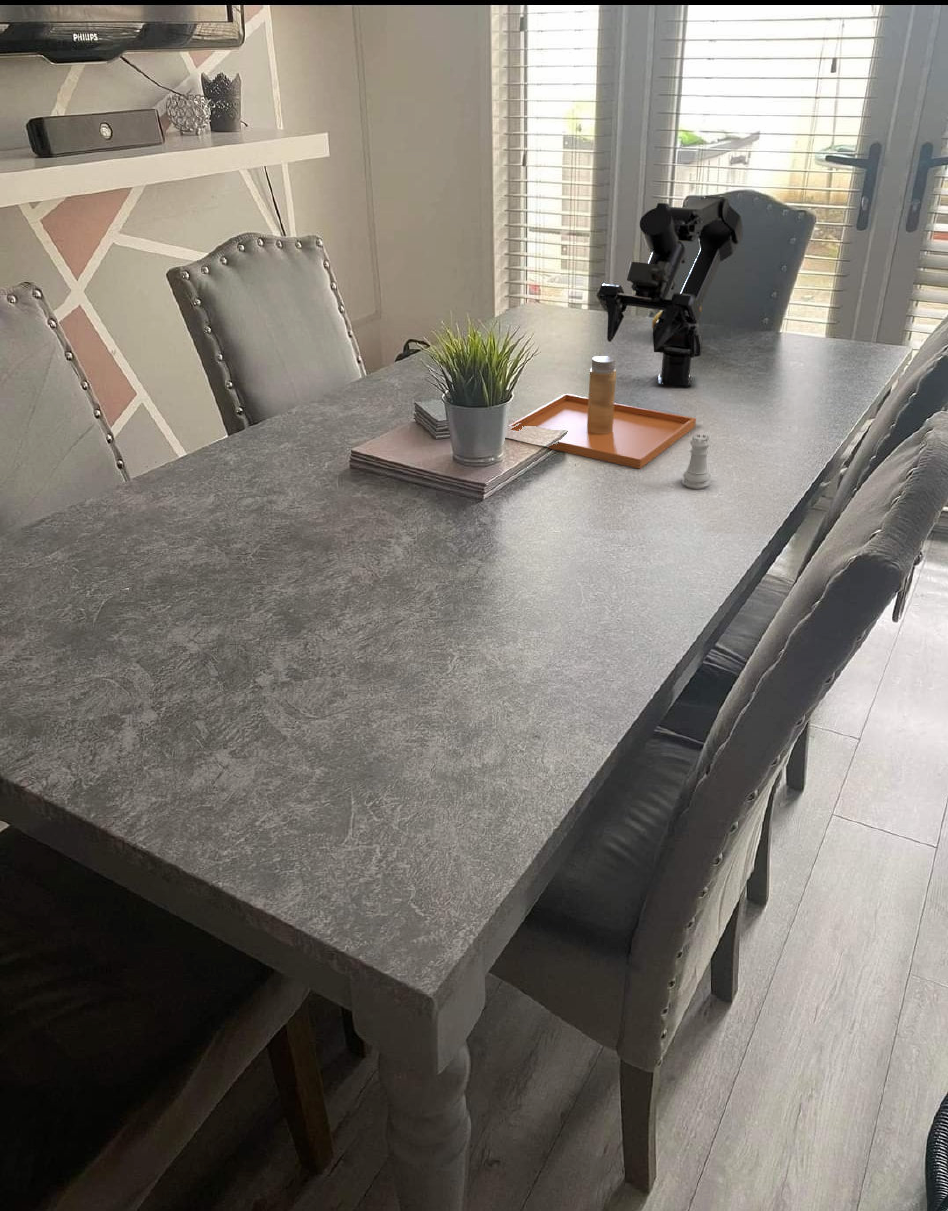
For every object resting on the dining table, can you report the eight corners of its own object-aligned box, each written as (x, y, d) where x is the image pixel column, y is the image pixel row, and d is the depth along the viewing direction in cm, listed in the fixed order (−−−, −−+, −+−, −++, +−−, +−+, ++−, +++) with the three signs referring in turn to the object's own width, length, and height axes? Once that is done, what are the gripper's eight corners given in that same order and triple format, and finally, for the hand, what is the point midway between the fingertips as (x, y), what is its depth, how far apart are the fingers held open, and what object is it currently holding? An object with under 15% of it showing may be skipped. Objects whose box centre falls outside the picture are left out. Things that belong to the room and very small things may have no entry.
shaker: (601, 423, 177) (605, 353, 170) (617, 431, 173) (622, 359, 167) (581, 428, 174) (584, 357, 168) (598, 436, 171) (601, 364, 164)
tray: (564, 401, 189) (565, 393, 188) (695, 426, 176) (696, 418, 175) (501, 437, 172) (501, 429, 172) (640, 468, 159) (640, 459, 158)
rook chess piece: (708, 478, 155) (713, 431, 151) (711, 490, 151) (717, 442, 147) (680, 478, 156) (685, 431, 151) (682, 489, 152) (687, 441, 148)
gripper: (603, 237, 174) (572, 312, 172) (701, 247, 165) (668, 326, 163) (620, 274, 184) (590, 345, 182) (713, 285, 175) (683, 360, 173)
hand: (631, 344), depth 174 cm, fingers open, 9 cm apart
